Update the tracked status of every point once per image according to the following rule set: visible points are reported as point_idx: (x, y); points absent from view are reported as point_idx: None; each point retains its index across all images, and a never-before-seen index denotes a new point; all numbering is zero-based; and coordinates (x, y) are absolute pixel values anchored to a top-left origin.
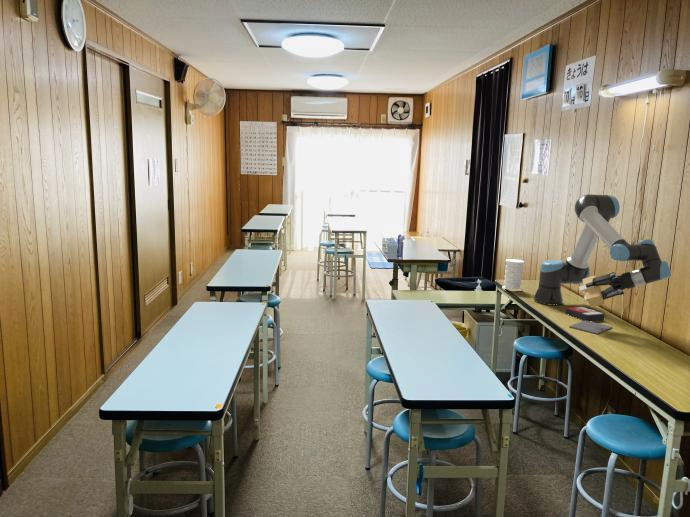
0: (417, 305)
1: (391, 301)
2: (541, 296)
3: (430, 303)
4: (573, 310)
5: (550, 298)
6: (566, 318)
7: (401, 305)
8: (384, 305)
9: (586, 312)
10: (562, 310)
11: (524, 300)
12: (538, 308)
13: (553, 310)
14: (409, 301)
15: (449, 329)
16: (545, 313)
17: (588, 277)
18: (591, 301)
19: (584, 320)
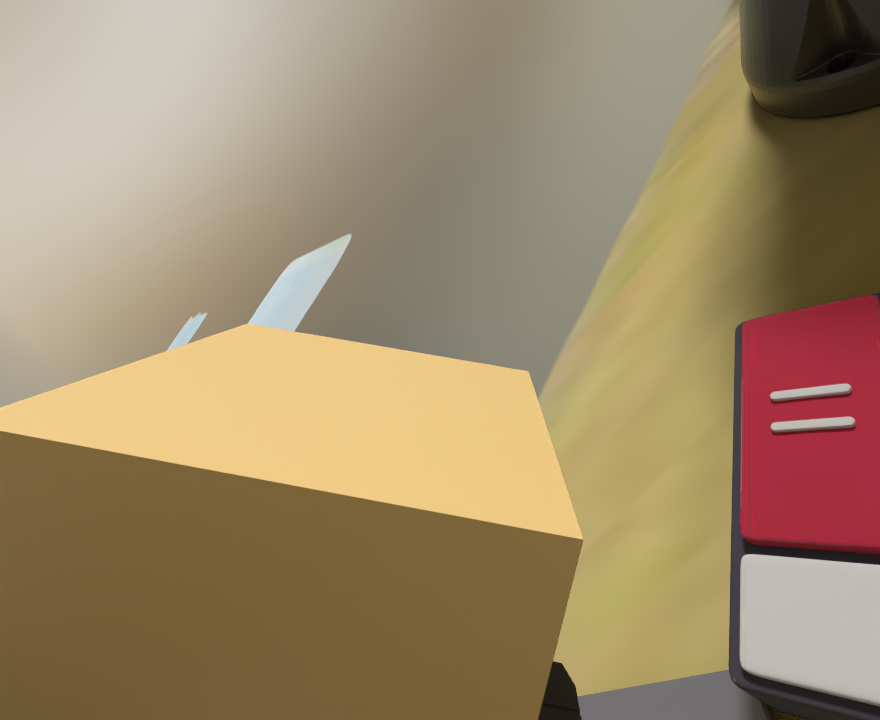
0: (305, 290)
1: (300, 265)
2: (745, 48)
3: (336, 264)
4: (742, 412)
5: (812, 54)
6: (624, 499)
7: (287, 296)
8: (270, 301)
9: (856, 550)
10: (825, 249)
11: (696, 75)
12: (633, 238)
13: (716, 266)
14: (321, 256)
15: None
16: (575, 353)
17: (161, 359)
18: None
19: (722, 671)
